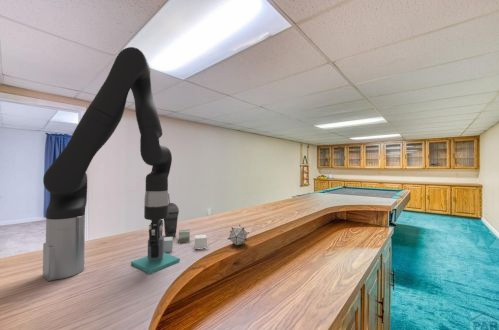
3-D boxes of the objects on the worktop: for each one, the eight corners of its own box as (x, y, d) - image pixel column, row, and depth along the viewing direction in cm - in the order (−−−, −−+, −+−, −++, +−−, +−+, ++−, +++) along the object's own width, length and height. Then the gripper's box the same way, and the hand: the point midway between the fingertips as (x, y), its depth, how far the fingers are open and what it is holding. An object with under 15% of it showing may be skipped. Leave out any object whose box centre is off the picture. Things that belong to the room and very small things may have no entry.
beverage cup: (175, 239, 99) (176, 194, 99) (159, 239, 99) (159, 194, 99) (180, 234, 106) (181, 192, 106) (165, 234, 106) (166, 192, 107)
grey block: (172, 252, 85) (172, 240, 85) (159, 253, 84) (159, 241, 84) (172, 247, 89) (172, 236, 89) (160, 248, 88) (161, 237, 88)
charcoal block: (162, 257, 73) (162, 239, 73) (147, 259, 72) (147, 240, 72) (163, 252, 78) (164, 235, 78) (150, 254, 76) (150, 236, 76)
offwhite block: (206, 249, 88) (206, 237, 88) (194, 250, 87) (195, 238, 87) (205, 245, 93) (205, 234, 93) (194, 246, 91) (194, 235, 91)
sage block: (189, 242, 96) (189, 231, 96) (178, 242, 95) (178, 232, 95) (189, 238, 100) (189, 228, 101) (179, 239, 99) (179, 229, 99)
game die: (237, 252, 95) (240, 229, 101) (251, 249, 90) (254, 226, 96) (221, 245, 90) (225, 222, 96) (236, 242, 85) (239, 218, 91)
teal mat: (149, 274, 67) (149, 270, 67) (131, 264, 74) (131, 261, 74) (179, 261, 76) (179, 258, 76) (160, 253, 83) (160, 251, 83)
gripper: (166, 207, 69) (165, 262, 69) (170, 200, 83) (169, 246, 83) (139, 208, 67) (139, 264, 67) (148, 200, 81) (147, 247, 81)
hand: (155, 254), depth 75 cm, fingers open, 4 cm apart
